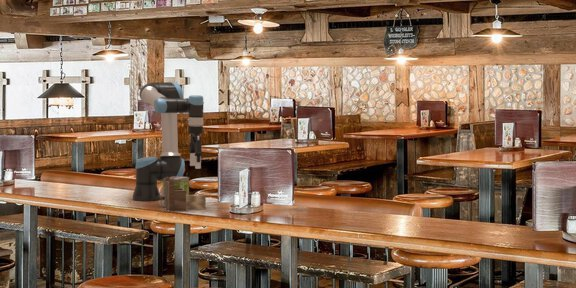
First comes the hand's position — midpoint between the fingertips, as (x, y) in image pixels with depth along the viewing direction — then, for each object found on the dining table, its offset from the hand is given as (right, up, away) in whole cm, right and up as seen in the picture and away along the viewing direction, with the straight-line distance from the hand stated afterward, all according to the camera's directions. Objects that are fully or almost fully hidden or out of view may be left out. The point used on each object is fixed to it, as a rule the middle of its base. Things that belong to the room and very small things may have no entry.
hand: (195, 167), depth 454 cm
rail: (-3, -21, -2) cm, 21 cm away
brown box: (-10, -21, -4) cm, 24 cm away
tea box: (-12, -21, +13) cm, 27 cm away
